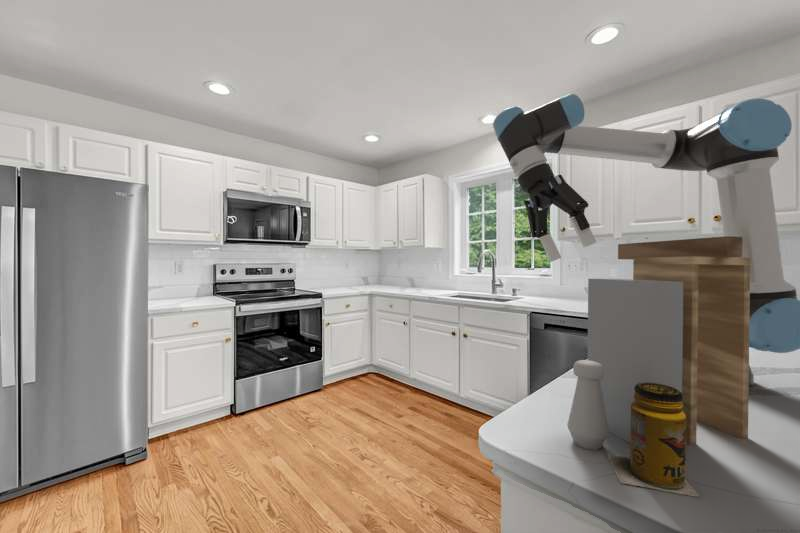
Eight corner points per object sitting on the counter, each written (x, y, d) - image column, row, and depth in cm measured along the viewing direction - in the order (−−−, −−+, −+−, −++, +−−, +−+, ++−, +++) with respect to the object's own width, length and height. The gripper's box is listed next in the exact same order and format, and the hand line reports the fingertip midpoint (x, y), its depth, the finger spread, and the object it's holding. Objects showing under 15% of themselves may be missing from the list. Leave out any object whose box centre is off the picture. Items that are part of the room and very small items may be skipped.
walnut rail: (630, 259, 77) (630, 244, 77) (742, 257, 57) (742, 236, 57) (617, 259, 76) (618, 244, 76) (726, 256, 56) (726, 236, 56)
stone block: (613, 415, 68) (615, 278, 68) (681, 449, 55) (683, 281, 55) (586, 417, 66) (588, 278, 67) (649, 453, 54) (651, 281, 54)
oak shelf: (682, 411, 70) (684, 259, 70) (748, 438, 59) (750, 257, 59) (631, 416, 67) (633, 257, 67) (690, 444, 57) (692, 256, 57)
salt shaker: (614, 455, 53) (615, 368, 53) (573, 450, 54) (574, 365, 54) (600, 436, 59) (601, 358, 59) (563, 433, 60) (564, 356, 60)
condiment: (699, 498, 44) (701, 399, 44) (620, 484, 46) (622, 391, 46) (674, 466, 51) (675, 381, 51) (606, 456, 53) (607, 375, 53)
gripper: (498, 196, 95) (531, 269, 92) (544, 146, 71) (591, 243, 68) (523, 188, 96) (556, 259, 93) (576, 136, 72) (624, 230, 69)
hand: (571, 253), depth 80 cm, fingers open, 13 cm apart
